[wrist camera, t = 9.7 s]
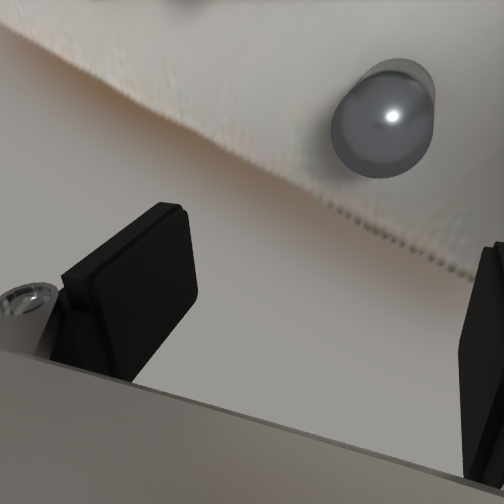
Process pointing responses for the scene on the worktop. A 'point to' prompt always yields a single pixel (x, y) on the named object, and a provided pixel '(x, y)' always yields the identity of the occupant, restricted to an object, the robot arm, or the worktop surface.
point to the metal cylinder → (386, 120)
